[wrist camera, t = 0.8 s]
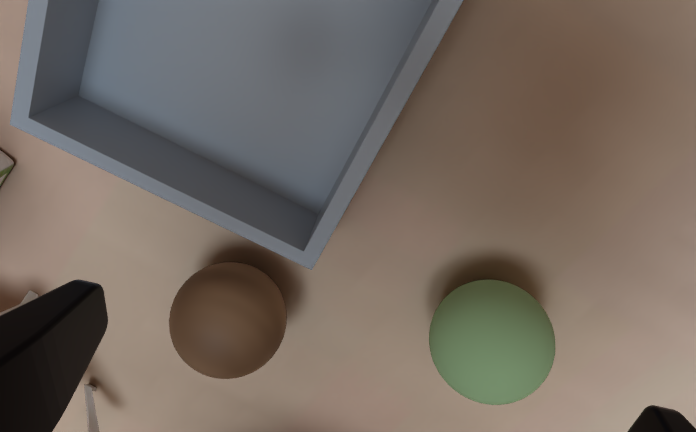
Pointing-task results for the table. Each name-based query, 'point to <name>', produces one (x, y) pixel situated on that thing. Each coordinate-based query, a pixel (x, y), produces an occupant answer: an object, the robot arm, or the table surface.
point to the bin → (229, 100)
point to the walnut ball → (227, 320)
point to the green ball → (492, 342)
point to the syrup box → (5, 166)
